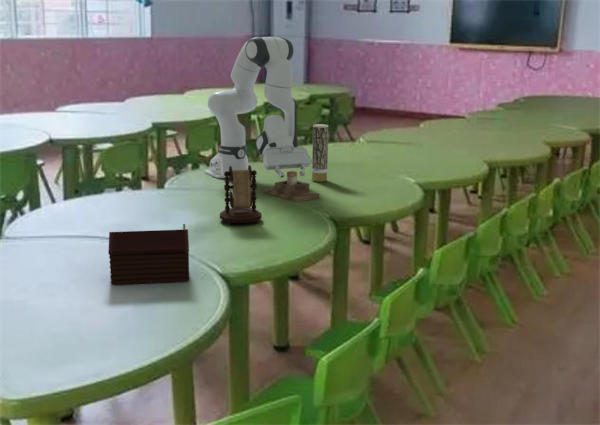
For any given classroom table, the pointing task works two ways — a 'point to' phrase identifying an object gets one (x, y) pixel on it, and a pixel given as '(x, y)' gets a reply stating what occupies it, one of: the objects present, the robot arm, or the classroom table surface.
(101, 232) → the classroom table surface
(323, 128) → the paper tube
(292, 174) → the peg
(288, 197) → the socket board
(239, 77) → the robot arm
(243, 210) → the scroll
